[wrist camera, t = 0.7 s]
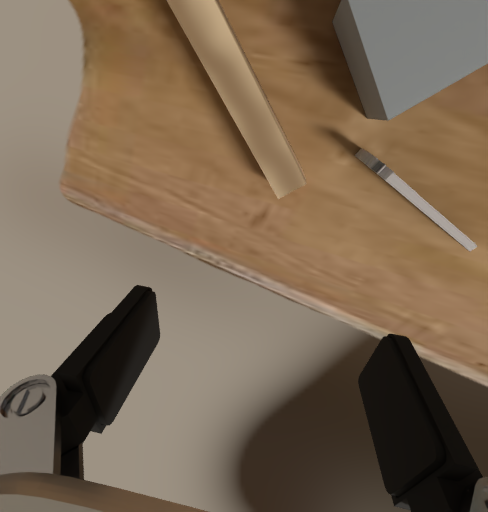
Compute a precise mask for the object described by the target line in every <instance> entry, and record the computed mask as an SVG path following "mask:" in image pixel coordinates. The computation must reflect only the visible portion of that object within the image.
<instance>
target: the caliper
mask: <svg viewBox="0 0 488 512" xmlns="http://www.w3.org/2000/svg"><path fill="white" fill-rule="evenodd" d="M355 156H356V157H357V158H358V159H359V160H361V161H362V162H363V163H364V164H365V165H366V166H368V167H369V168H370V169H371V170H373V171H374V172H375V173H376V174H378V175H379V176H380V177H381V178H382V179H384V180H385V181H386V182H387V183H388V184H390V185H391V186H392V187H393V188H394V189H396V190H397V191H398V192H399V193H400V194H402V195H403V196H404V197H405V198H406V199H408V200H409V201H410V202H411V203H412V204H414V205H415V206H416V207H417V208H418V209H420V210H421V211H422V212H423V213H424V214H426V215H427V216H428V217H429V218H430V219H432V220H433V221H434V222H435V223H436V224H437V225H439V226H440V227H441V228H442V229H443V230H445V231H446V232H447V233H448V234H449V235H451V236H452V237H453V238H454V239H455V240H457V241H458V242H459V243H460V244H461V245H463V246H464V247H465V248H466V249H467V250H469V251H471V250H473V249H474V248H476V247H477V245H476V244H475V243H474V242H473V241H471V240H470V239H469V238H468V237H467V236H466V235H464V234H463V233H462V232H461V231H460V230H459V229H458V228H456V227H455V226H454V225H453V224H452V223H451V222H449V221H448V220H447V219H446V218H445V217H444V216H443V215H441V214H440V213H439V212H438V211H437V210H436V209H434V208H433V207H432V206H431V205H430V204H429V203H428V202H426V201H425V200H424V199H423V198H422V197H421V196H419V195H418V193H416V192H415V191H414V190H413V189H412V188H411V187H410V186H408V185H407V184H406V183H405V182H404V181H403V180H401V179H400V178H399V177H398V176H397V175H396V174H395V173H394V172H393V171H392V170H391V169H389V168H388V167H387V166H386V165H385V164H384V163H382V162H381V161H380V160H378V159H377V158H376V157H375V156H373V155H372V154H370V153H369V152H367V151H365V150H364V149H362V148H361V149H360V150H359V151H358V152H357V153H356V155H355Z"/></svg>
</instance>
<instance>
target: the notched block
mask: <svg viewBox="0 0 488 512" xmlns="http://www.w3.org/2000/svg"><path fill="white" fill-rule="evenodd" d="M332 23H333V26H334V28H335V31H336V34H337V37H338V39H339V42H340V45H341V48H342V50H343V53H344V56H345V59H346V61H347V64H348V67H349V70H350V73H351V75H352V78H353V81H354V84H355V86H356V89H357V92H358V95H359V97H360V100H361V103H362V106H363V108H364V111H365V114H366V117H367V118H368V119H378V120H390V119H392V118H394V117H395V116H397V115H399V114H401V113H402V112H404V111H406V110H407V109H409V108H411V107H413V106H414V105H416V104H418V103H420V102H421V101H423V100H425V99H427V98H428V97H430V96H432V95H434V94H435V93H437V92H439V91H440V90H442V89H444V88H446V87H447V86H449V85H451V84H453V83H454V82H456V81H458V80H460V79H461V78H463V77H465V76H467V75H468V74H470V73H472V72H473V71H475V70H477V69H479V68H480V67H482V66H484V65H486V64H487V63H488V0H341V2H340V5H339V7H338V9H337V12H336V14H335V16H334V19H333V21H332Z"/></svg>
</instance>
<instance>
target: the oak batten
mask: <svg viewBox="0 0 488 512" xmlns="http://www.w3.org/2000/svg"><path fill="white" fill-rule="evenodd" d="M167 2H168V4H169V5H170V7H171V9H172V11H173V13H174V14H175V16H176V18H177V20H178V22H179V23H180V25H181V27H182V29H183V30H184V32H185V34H186V36H187V38H188V39H189V41H190V43H191V45H192V46H193V48H194V50H195V52H196V54H197V55H198V57H199V59H200V61H201V62H202V64H203V66H204V68H205V70H206V71H207V73H208V75H209V77H210V79H211V80H212V82H213V84H214V86H215V87H216V89H217V91H218V93H219V95H220V96H221V98H222V100H223V102H224V103H225V105H226V107H227V109H228V111H229V112H230V114H231V116H232V118H233V119H234V121H235V123H236V125H237V127H238V128H239V130H240V132H241V134H242V136H243V137H244V139H245V141H246V143H247V144H248V146H249V148H250V150H251V152H252V153H253V155H254V157H255V159H256V160H257V162H258V164H259V166H260V168H261V169H262V171H263V173H264V175H265V176H266V178H267V180H268V182H269V184H270V185H271V187H272V189H273V191H274V192H275V194H276V196H277V198H278V199H279V198H281V197H283V196H285V195H287V194H289V193H291V192H292V191H294V190H296V189H298V188H300V187H302V186H304V185H305V184H306V178H305V174H304V172H303V170H302V168H301V165H300V163H299V161H298V159H297V157H296V155H295V153H294V151H293V149H292V147H291V145H290V143H289V141H288V139H287V137H286V135H285V133H284V131H283V129H282V127H281V125H280V123H279V121H278V119H277V117H276V115H275V113H274V111H273V109H272V107H271V105H270V103H269V101H268V99H267V97H266V95H265V93H264V91H263V89H262V87H261V85H260V83H259V81H258V79H257V76H256V74H255V72H254V70H253V68H252V66H251V64H250V62H249V60H248V58H247V56H246V54H245V52H244V50H243V48H242V46H241V44H240V42H239V40H238V38H237V36H236V34H235V32H234V30H233V28H232V26H231V24H230V22H229V20H228V18H227V16H226V14H225V12H224V10H223V8H222V6H221V4H220V2H219V0H167Z"/></svg>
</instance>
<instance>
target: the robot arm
mask: <svg viewBox="0 0 488 512" xmlns="http://www.w3.org/2000/svg"><path fill="white" fill-rule="evenodd" d="M159 338H160V329H159V320H158V311H157V303H156V294H155V292H152V289H151V288H150V287H145V286H139V285H137V286H135V287H134V288H133V289H132V290H131V291H130V293H128V295H127V296H126V297H125V298H124V299H123V300H122V301H121V303H120V304H119V305H118V306H117V307H116V308H115V309H114V310H113V311H112V313H109V314H107V315H106V316H105V317H104V318H103V319H102V320H101V321H100V323H99V324H98V325H97V326H96V327H95V328H94V329H93V330H92V332H91V333H90V334H89V335H88V336H87V337H86V338H85V339H84V340H83V341H82V342H81V344H80V345H79V346H78V347H77V348H76V349H75V350H74V351H73V352H72V354H71V355H70V356H69V357H68V358H67V359H66V360H65V361H64V362H63V364H62V365H61V366H60V367H59V368H58V369H57V370H56V371H55V372H54V373H53V374H52V376H48V375H35V376H30V377H28V378H25V379H23V380H21V381H19V382H17V383H16V384H14V385H13V386H11V387H10V388H9V389H7V390H6V391H5V392H4V393H3V394H2V395H1V397H0V512H208V511H204V510H200V509H196V508H193V507H189V506H185V505H181V504H177V503H173V502H170V501H166V500H162V499H158V498H154V497H150V496H146V495H143V494H138V493H134V492H131V491H127V490H123V489H119V488H115V487H111V486H107V485H103V484H98V483H94V482H90V481H86V480H84V466H83V442H84V440H85V439H86V437H87V436H88V434H89V432H90V431H93V432H97V433H102V432H103V430H104V428H105V427H106V425H110V424H111V423H112V422H113V421H114V419H115V417H116V416H117V414H118V412H119V410H120V409H121V407H122V405H123V403H124V402H125V400H126V398H127V396H128V395H129V393H130V391H131V389H132V387H133V386H134V384H135V382H136V380H137V379H138V377H139V375H140V373H141V372H142V370H143V368H144V366H145V365H146V363H147V361H148V359H149V357H150V356H151V354H152V352H153V351H154V349H155V347H156V345H157V344H158V341H159ZM358 383H359V388H360V392H361V396H362V400H363V404H364V407H365V411H366V415H367V419H368V423H369V427H370V431H371V435H372V439H373V442H374V446H375V450H376V454H377V458H378V462H379V466H380V470H381V474H382V477H383V481H384V485H385V488H386V490H387V492H388V493H389V494H391V496H392V499H393V503H394V506H396V507H400V508H403V509H408V510H411V512H488V477H483V476H482V475H481V473H480V471H479V469H478V467H477V465H476V463H475V462H474V459H473V457H472V455H471V454H470V452H469V450H468V448H467V446H466V444H465V443H464V440H463V439H462V437H461V435H460V433H459V431H458V430H457V428H456V426H455V424H454V422H453V420H452V418H451V416H450V414H449V412H448V411H447V409H446V407H445V405H444V403H443V401H442V399H441V397H440V396H439V394H438V392H437V390H436V388H435V386H434V384H433V383H432V381H431V379H430V377H429V375H428V373H427V371H426V370H425V368H424V366H423V364H422V362H421V360H420V358H419V356H418V354H417V353H416V351H415V349H414V347H413V345H412V343H411V341H410V340H409V338H407V337H405V336H400V335H395V334H388V336H387V337H385V336H384V337H383V338H382V339H381V341H380V343H379V345H378V346H377V348H376V349H375V351H374V353H373V354H372V356H371V358H370V359H369V361H368V362H367V364H366V366H365V367H364V369H363V371H362V372H361V374H360V376H359V380H358Z"/></svg>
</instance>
